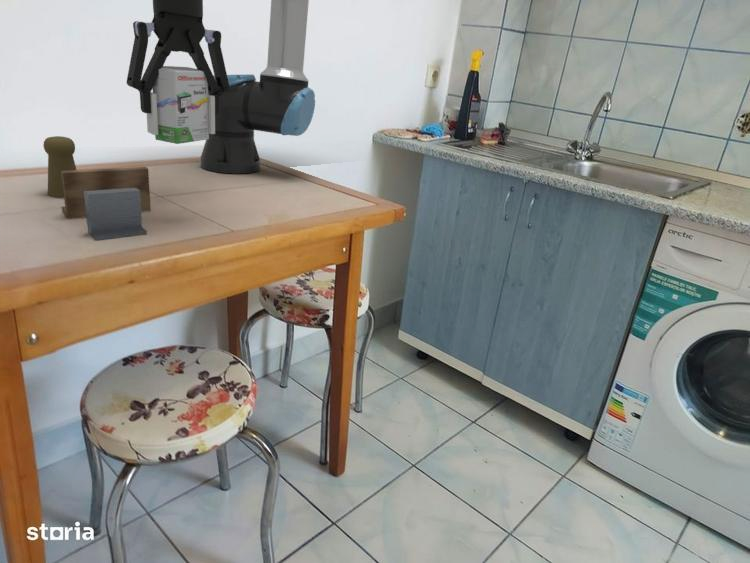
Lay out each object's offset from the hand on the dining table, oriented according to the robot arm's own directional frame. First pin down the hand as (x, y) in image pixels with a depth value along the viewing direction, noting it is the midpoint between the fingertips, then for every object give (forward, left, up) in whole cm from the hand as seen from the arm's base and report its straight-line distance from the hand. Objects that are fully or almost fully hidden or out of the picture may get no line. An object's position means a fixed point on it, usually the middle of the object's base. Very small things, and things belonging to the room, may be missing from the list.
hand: (182, 133), depth 94 cm
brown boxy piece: (+11, -9, -16) cm, 21 cm away
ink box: (0, 0, -1) cm, 1 cm away
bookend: (+13, +2, -16) cm, 20 cm away
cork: (+15, -23, -16) cm, 31 cm away
